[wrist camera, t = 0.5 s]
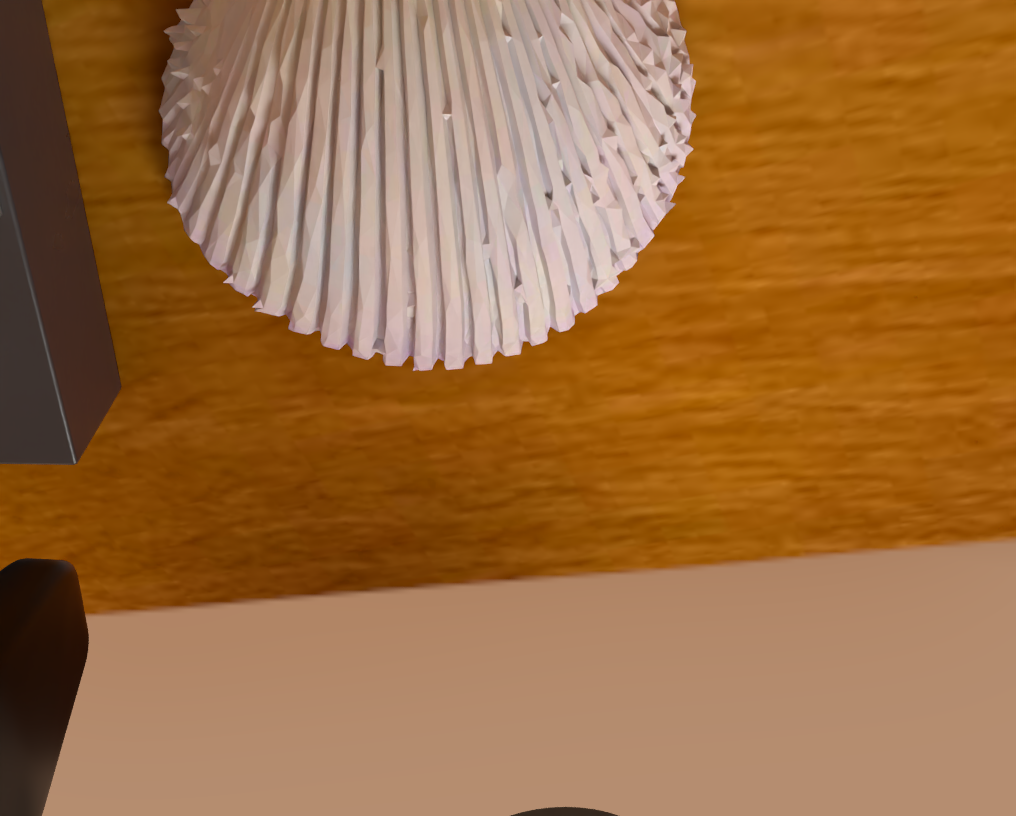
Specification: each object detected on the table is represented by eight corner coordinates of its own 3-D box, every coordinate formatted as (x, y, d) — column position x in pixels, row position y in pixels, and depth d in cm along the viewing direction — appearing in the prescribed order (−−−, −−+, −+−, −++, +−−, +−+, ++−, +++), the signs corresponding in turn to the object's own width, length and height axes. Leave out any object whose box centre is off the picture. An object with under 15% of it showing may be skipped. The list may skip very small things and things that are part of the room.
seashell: (747, -246, 13) (742, 434, 17) (671, -164, 18) (679, 343, 22) (-1, -185, 13) (149, 483, 17) (131, -121, 18) (225, 381, 22)
